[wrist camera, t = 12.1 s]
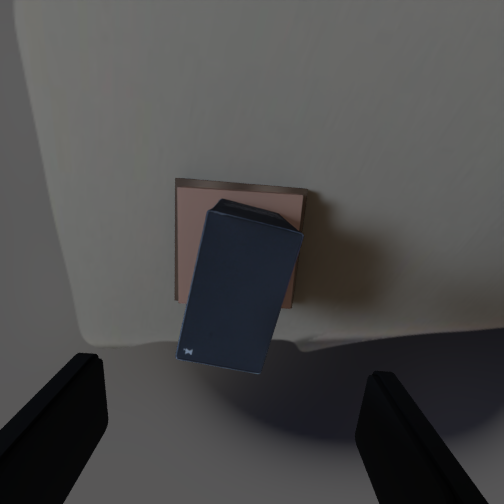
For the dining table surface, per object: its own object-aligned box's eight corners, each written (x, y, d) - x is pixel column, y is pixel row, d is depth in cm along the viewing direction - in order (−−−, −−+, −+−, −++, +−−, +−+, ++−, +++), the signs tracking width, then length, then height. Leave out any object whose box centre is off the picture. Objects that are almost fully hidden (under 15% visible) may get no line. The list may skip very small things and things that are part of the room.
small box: (256, 308, 28) (263, 380, 18) (196, 295, 28) (169, 362, 18) (284, 213, 26) (310, 235, 16) (218, 196, 25) (201, 207, 15)
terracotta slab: (297, 193, 28) (303, 195, 25) (286, 296, 31) (290, 308, 28) (184, 186, 28) (177, 187, 25) (184, 291, 31) (178, 303, 28)
